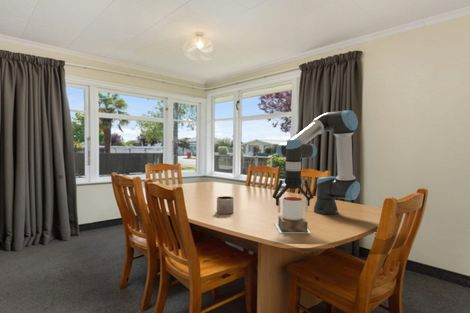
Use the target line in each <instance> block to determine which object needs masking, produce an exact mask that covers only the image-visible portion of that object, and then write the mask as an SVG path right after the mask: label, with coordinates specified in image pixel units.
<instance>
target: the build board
mask: <svg viewBox="0 0 470 313" xmlns="http://www.w3.org/2000/svg"><path fill="white" fill-rule="evenodd" d="M273 225H274V226H275V228H276V230H277V233H278V234H280V235H282V234H284V235H285V234H288V235H290V234H293V235H298V234H299V235H301V234H302V235H304V234H305V235H313V233H312V231H311V230H310V229H309V227H307V232H282V230H281V229H280V227H279V225H278V223H273Z"/></svg>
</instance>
